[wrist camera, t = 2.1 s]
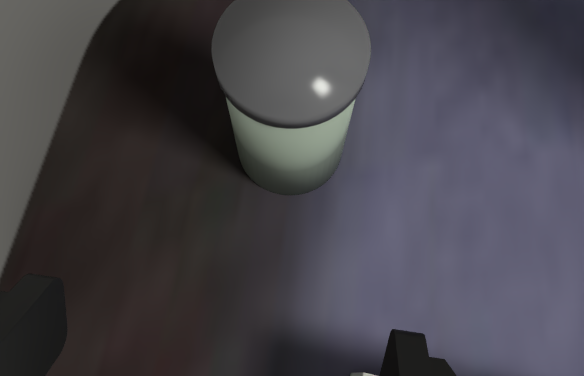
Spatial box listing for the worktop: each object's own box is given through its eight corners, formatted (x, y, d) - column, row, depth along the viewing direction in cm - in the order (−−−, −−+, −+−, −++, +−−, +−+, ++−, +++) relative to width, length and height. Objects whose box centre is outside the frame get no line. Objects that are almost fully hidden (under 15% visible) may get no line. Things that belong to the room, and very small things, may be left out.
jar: (313, 80, 33) (324, -41, 23) (365, 168, 31) (400, 77, 21) (216, 123, 32) (186, 15, 22) (264, 217, 30) (253, 144, 20)
